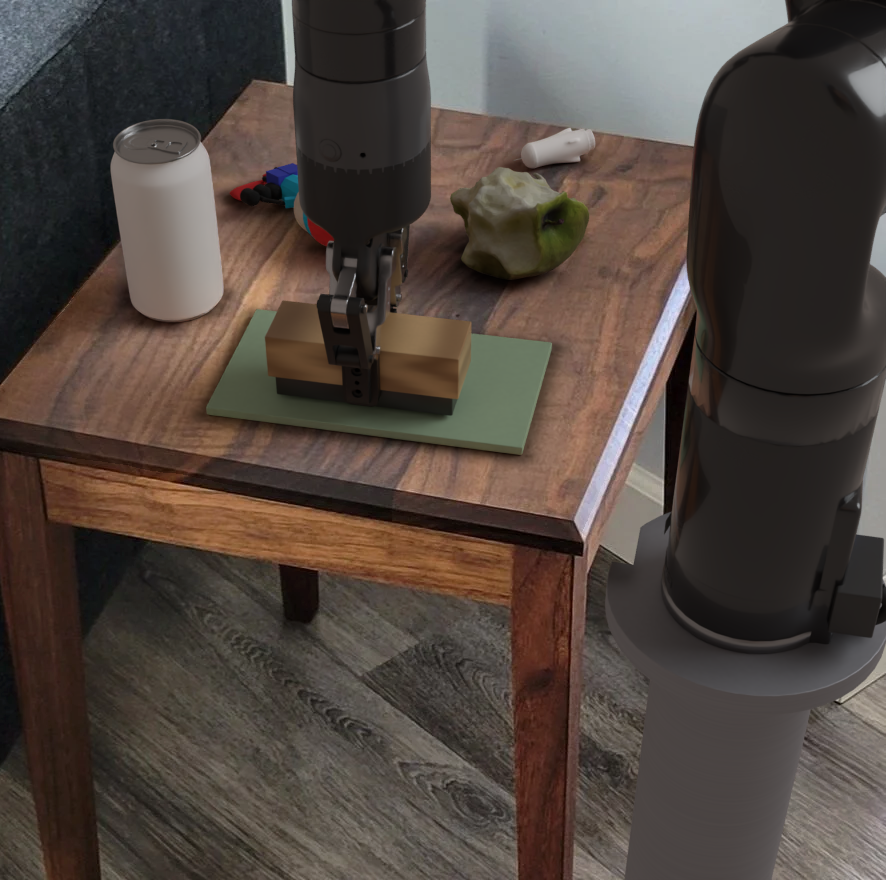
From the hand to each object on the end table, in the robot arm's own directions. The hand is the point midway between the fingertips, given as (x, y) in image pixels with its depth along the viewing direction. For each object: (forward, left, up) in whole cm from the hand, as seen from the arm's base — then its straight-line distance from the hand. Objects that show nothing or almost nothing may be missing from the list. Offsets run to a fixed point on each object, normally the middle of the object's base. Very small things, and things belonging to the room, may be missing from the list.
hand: (371, 378), depth 102 cm
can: (+16, -8, -2) cm, 18 cm away
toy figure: (+9, -19, -2) cm, 21 cm away
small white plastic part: (-7, -30, 0) cm, 31 cm away
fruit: (-6, -17, -2) cm, 19 cm away
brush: (0, 0, -1) cm, 1 cm away
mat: (0, -2, -2) cm, 3 cm away
